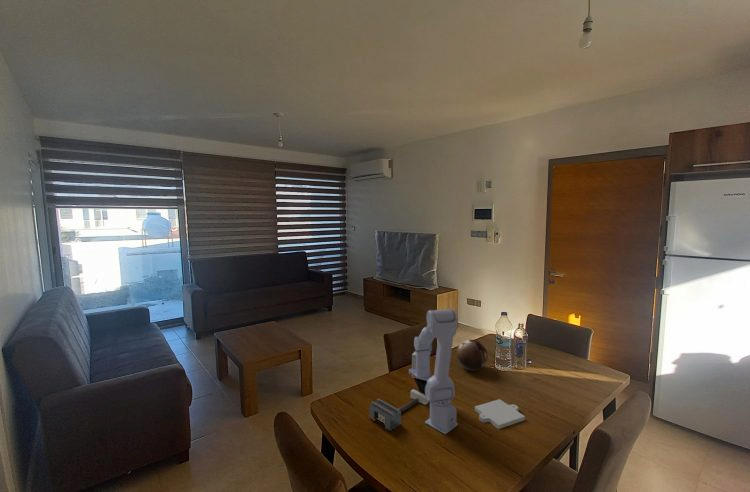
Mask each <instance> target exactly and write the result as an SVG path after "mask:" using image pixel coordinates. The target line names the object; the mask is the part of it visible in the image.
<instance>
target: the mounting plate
mask: <svg viewBox="0 0 750 492" xmlns="http://www.w3.org/2000/svg"><path fill="white" fill-rule="evenodd" d="M474 411H475V412H476V413H477V414H478V415H479V416H478V420H479V421H480V422H482V423H490V424H492V425H493V426H494V427H495V428H496V429H498V430H500V429H503V428H505V427H509V426H512V425H515V424H517V423H519V422H523V421H525V420H526V419H525V418H526V416H525V415H524V414H522V413H521V412H519V406H518V405H516V404H508V403H506V402H505V401H503V400H501V399H500V398H499V399H496V400H492V401H488V402H485V403H482V404H479V405H475V406H474Z"/></svg>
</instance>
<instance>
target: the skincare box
mask: <svg viewBox="0 0 750 492" xmlns="http://www.w3.org/2000/svg"><path fill="white" fill-rule="evenodd" d="M411 368H412V369H416V351H414V352H413V353H412V354H411ZM411 378H412V379H415V378H416V379H417V377H416V376H414V375H412V374H411Z"/></svg>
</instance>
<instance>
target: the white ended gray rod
mask: <svg viewBox="0 0 750 492" xmlns="http://www.w3.org/2000/svg"><path fill="white" fill-rule="evenodd" d="M409 394H410V398H411V399H413V400H411V401H409V402H407V403H405V404H404V405H403V406H401V407H399V408H398V409H399V410H400V411H401V413H402V412H403V411H404V410H407V409H408V408H410V407H411V406H413V405H414V404H416V403H420V404H423V405H425V406H426V405H428V404H429V401H428V400H427V398H426V395H425V394H423V393H421V392H419V390H416V389H414V388H413V389H411V390H410V393H409ZM378 420H380V421H381V422H383V423H384V424H383V423H382V424H383V425H385V417H384V416H382V415H380V414H379V413H378V419H377V421H378ZM380 421H379V422H380ZM381 422H380V423H381Z"/></svg>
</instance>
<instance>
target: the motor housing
mask: <svg viewBox="0 0 750 492" xmlns="http://www.w3.org/2000/svg"><path fill="white" fill-rule="evenodd" d="M378 413H379V414H380V415H382V416H384V417H385V424H384V429H385V428H386V429H388V430H389V431H391V430H392V429H394V428H395V429H397V428H398V427H400V426H401V425H402V412H401V411H400V410H399V408H398V407H395V406H393V405H392V404H389V403H388V402H386V401H385V400H382V399H380V398H377V400H376V401H375V402H374V401H371V404H369V418H370V417H371V418H372V419H376V418H378ZM400 424H401V425H400ZM399 425H400V426H399ZM397 426H398V427H397ZM396 427H397V428H396ZM386 429H385V430H386ZM395 429H394V430H395ZM388 430H387V431H388ZM389 431H388V432H389ZM392 431H393V430H392ZM392 431H391V432H392Z"/></svg>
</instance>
